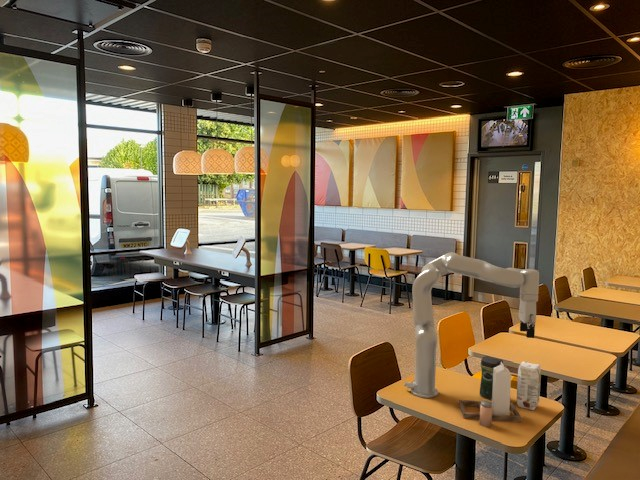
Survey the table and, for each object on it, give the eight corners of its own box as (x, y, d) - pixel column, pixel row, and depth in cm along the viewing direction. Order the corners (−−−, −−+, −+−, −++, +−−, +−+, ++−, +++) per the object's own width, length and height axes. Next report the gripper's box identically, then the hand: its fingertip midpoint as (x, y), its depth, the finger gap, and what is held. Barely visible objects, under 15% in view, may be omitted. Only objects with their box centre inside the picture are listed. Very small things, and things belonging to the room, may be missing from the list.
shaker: (480, 426, 192) (481, 404, 191) (478, 421, 196) (479, 399, 196) (492, 427, 191) (493, 405, 190) (490, 422, 196) (491, 400, 195)
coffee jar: (504, 397, 220) (506, 358, 218) (496, 402, 214) (498, 362, 212) (485, 391, 227) (486, 353, 225) (476, 395, 221) (478, 356, 219)
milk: (505, 411, 206) (508, 361, 204) (509, 417, 200) (512, 366, 198) (491, 409, 207) (493, 360, 205) (494, 416, 201) (496, 365, 199)
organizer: (463, 418, 199) (463, 413, 199) (458, 404, 212) (458, 399, 212) (521, 422, 196) (521, 417, 196) (512, 407, 209) (512, 403, 209)
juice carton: (535, 412, 205) (538, 369, 203) (515, 406, 210) (517, 364, 208) (540, 405, 211) (542, 364, 209) (519, 400, 216) (521, 360, 214)
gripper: (514, 292, 222) (512, 328, 223) (525, 301, 205) (523, 339, 206) (531, 293, 221) (529, 329, 223) (544, 301, 204) (542, 340, 205)
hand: (526, 334), depth 214 cm, fingers open, 9 cm apart
